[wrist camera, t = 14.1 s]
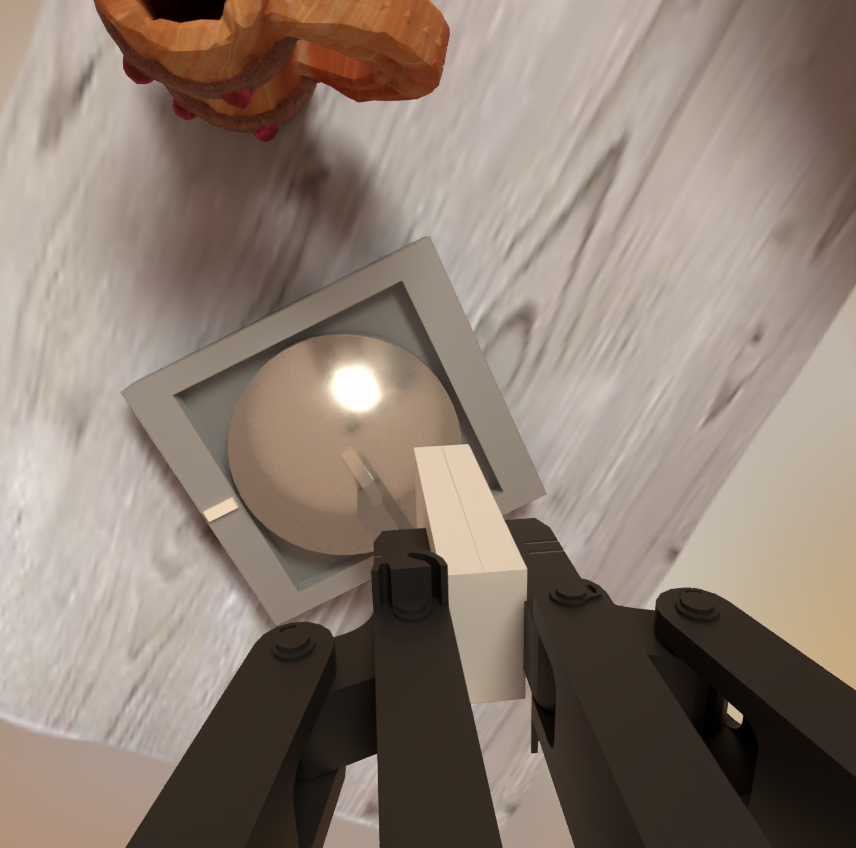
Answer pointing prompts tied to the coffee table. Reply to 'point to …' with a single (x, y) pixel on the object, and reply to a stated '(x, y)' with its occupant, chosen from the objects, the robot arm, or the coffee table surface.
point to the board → (256, 343)
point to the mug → (277, 53)
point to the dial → (337, 439)
